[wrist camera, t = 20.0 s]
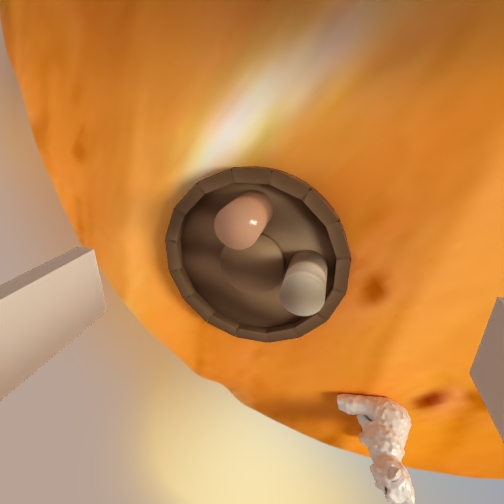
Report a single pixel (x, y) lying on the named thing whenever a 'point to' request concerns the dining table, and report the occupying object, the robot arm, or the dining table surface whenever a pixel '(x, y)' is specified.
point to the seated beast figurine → (383, 442)
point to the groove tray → (284, 226)
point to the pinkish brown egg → (243, 219)
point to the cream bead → (304, 283)
